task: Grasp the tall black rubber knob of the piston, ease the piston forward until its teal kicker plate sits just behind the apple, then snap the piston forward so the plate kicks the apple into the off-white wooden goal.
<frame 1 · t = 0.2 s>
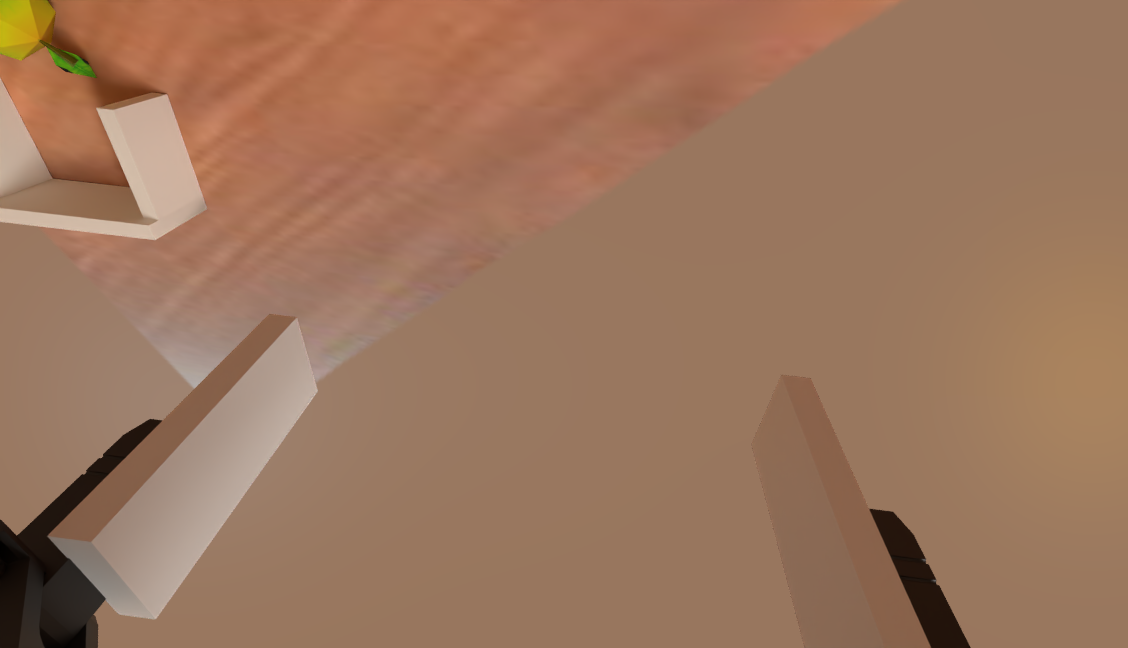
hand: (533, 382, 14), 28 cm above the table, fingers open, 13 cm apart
apple: (48, 12, 36), on the table
goal: (102, 145, 41), on the table
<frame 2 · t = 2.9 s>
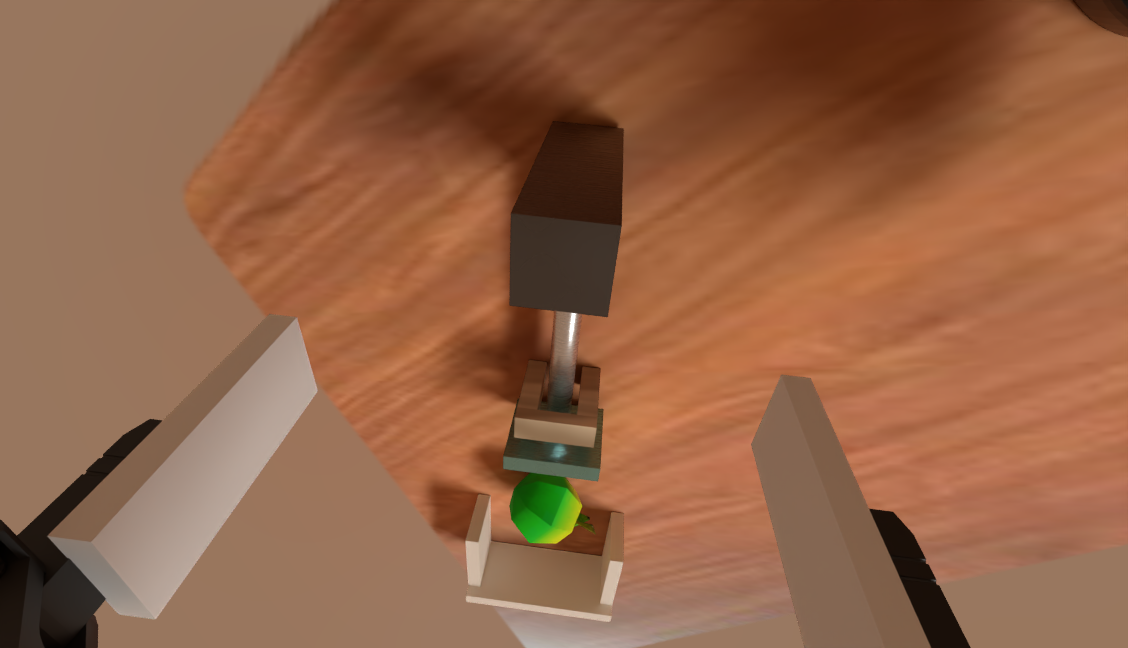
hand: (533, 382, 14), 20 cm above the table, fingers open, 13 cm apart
apple: (559, 482, 49), on the table
goal: (548, 530, 53), on the table
bearing block: (563, 373, 40), on the table
piston: (561, 355, 30), point 7 cm above the table, slide at 0.0 cm
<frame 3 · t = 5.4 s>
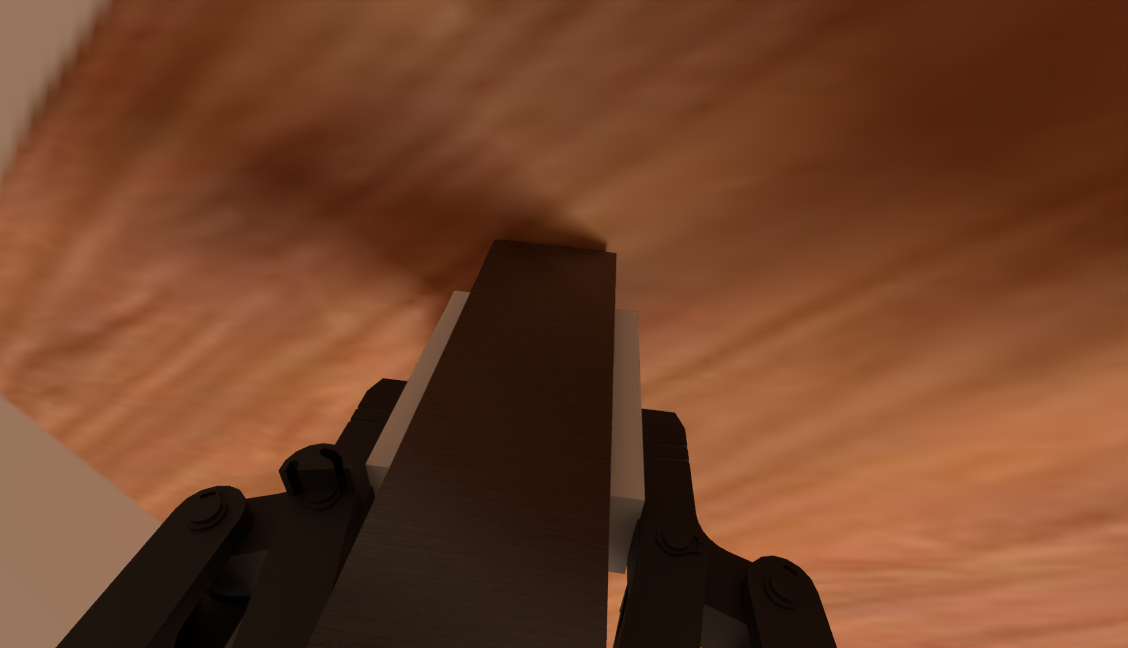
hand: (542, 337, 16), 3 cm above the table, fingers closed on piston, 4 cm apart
piston: (514, 621, 18), point 7 cm above the table, slide at 0.0 cm, touching gripper
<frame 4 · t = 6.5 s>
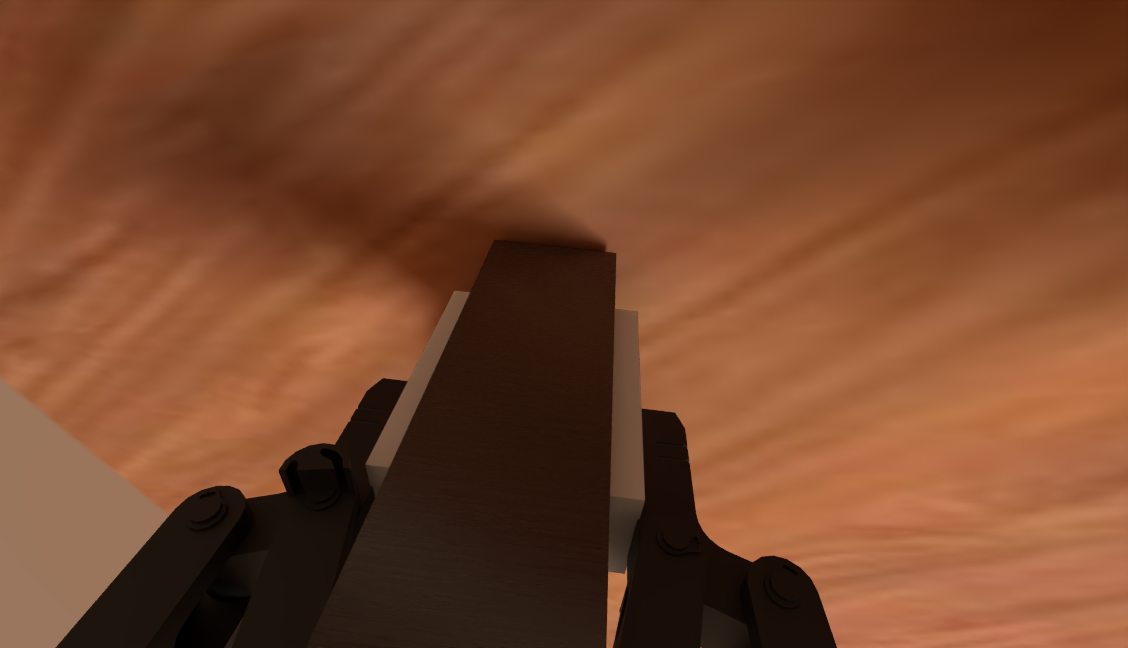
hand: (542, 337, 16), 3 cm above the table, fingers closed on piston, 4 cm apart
piston: (515, 622, 18), point 7 cm above the table, slide at 2.9 cm, touching gripper
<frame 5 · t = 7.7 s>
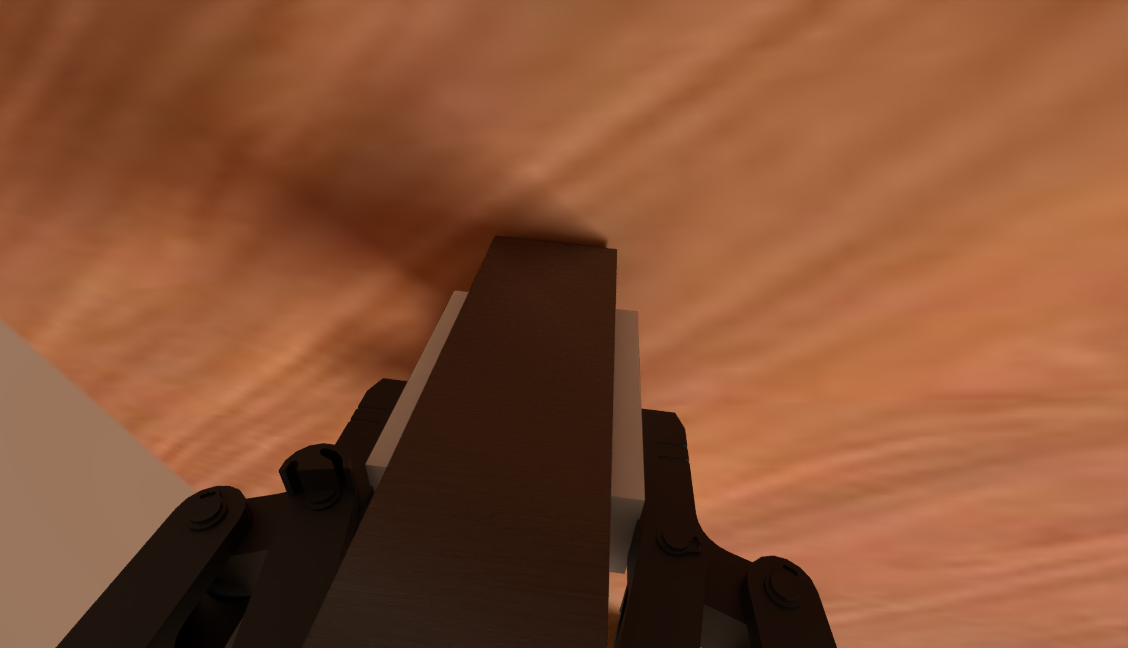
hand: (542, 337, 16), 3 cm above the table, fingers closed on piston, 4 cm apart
piston: (514, 619, 18), point 7 cm above the table, slide at 11.4 cm, touching gripper
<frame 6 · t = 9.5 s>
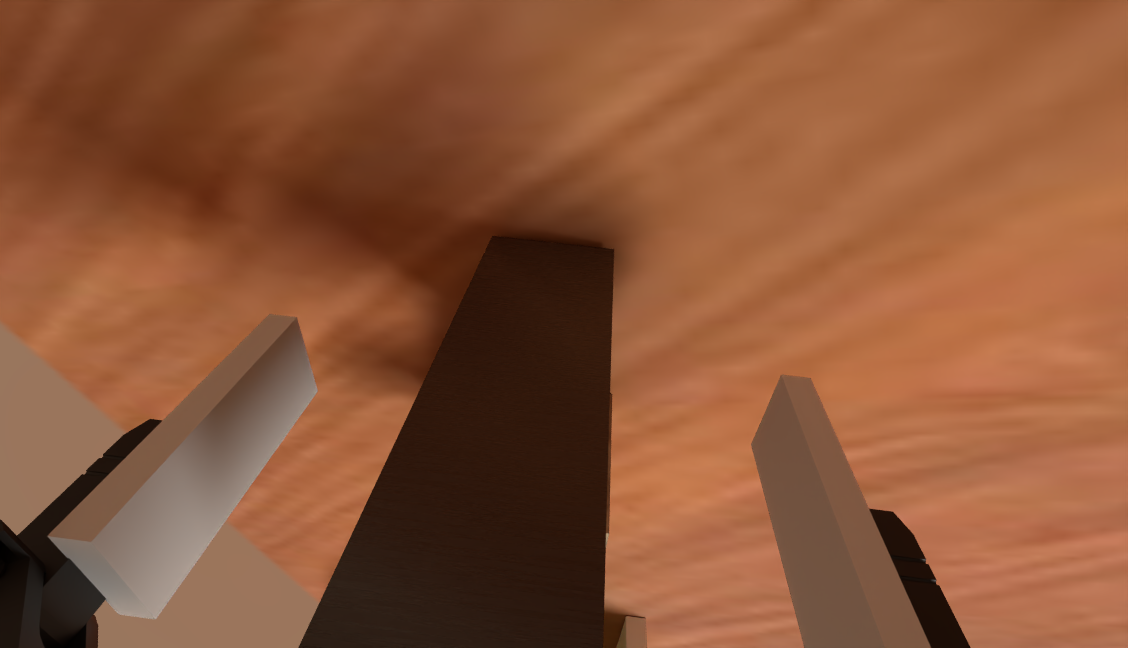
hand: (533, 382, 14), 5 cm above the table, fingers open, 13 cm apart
goal: (526, 636, 34), on the table
bearing block: (542, 403, 21), on the table
piston: (512, 618, 18), point 7 cm above the table, slide at 11.4 cm
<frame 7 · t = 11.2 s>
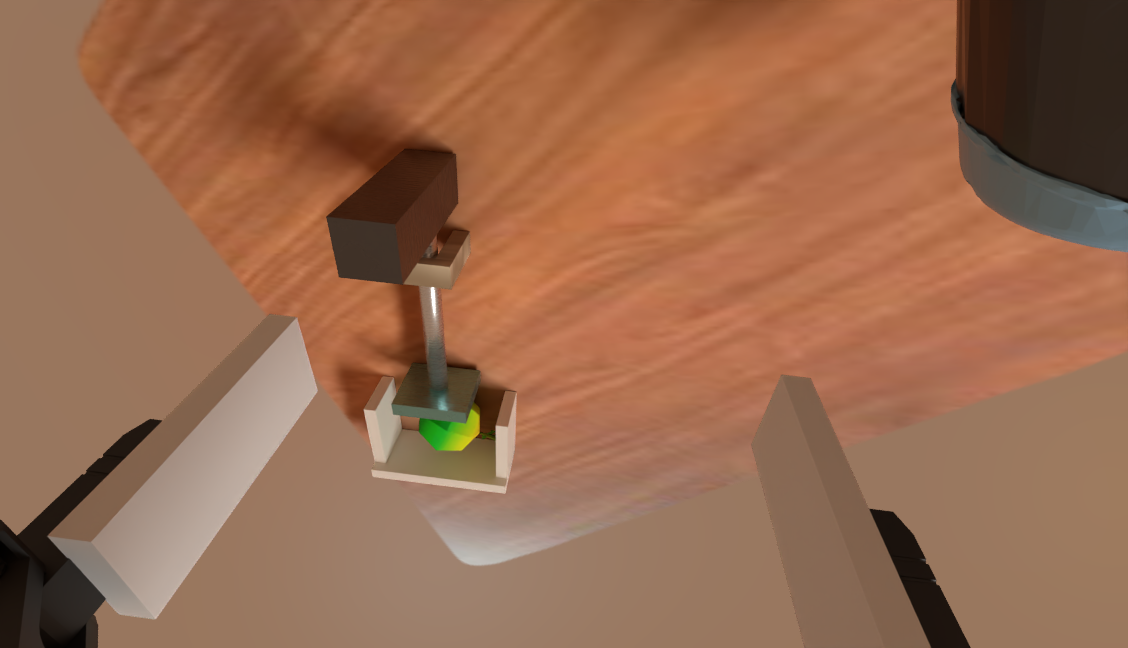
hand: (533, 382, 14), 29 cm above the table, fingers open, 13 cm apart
apple: (467, 403, 56), on the table
goal: (451, 414, 57), on the table
bearing block: (438, 238, 44), on the table
piston: (417, 320, 41), point 7 cm above the table, slide at 11.4 cm
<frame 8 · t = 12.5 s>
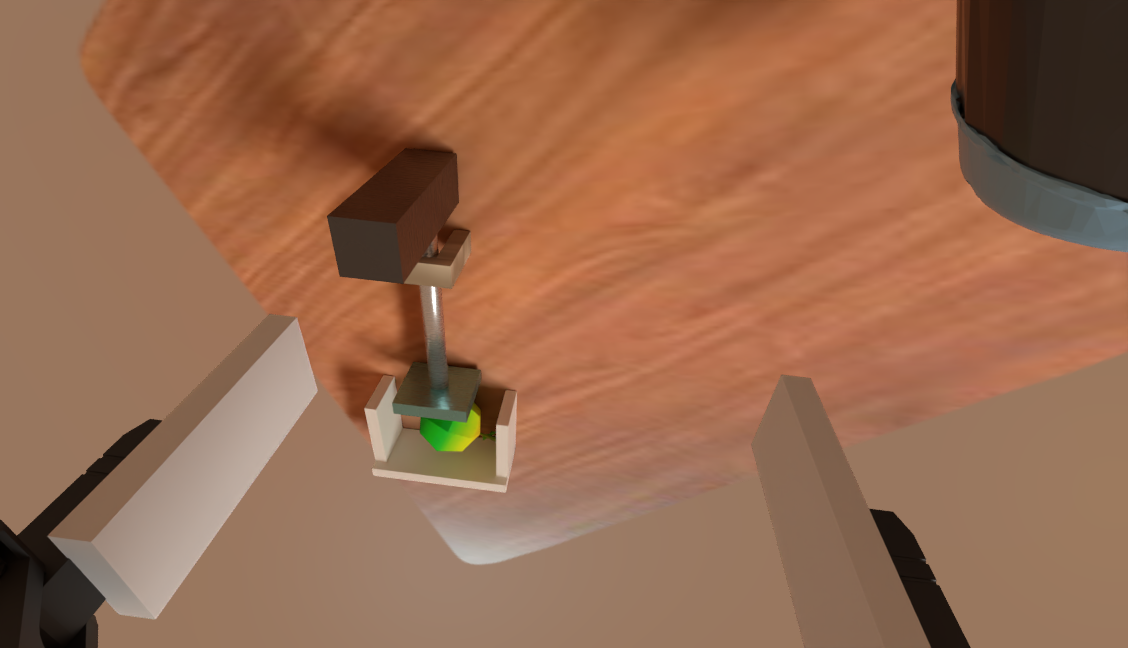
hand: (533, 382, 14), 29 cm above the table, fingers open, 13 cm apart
apple: (468, 404, 56), on the table
goal: (452, 413, 57), on the table
bearing block: (438, 238, 44), on the table
piston: (417, 320, 41), point 7 cm above the table, slide at 11.4 cm
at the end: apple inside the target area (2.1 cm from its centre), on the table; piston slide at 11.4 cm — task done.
